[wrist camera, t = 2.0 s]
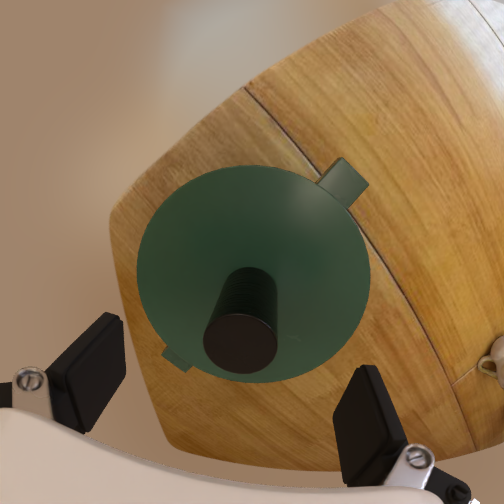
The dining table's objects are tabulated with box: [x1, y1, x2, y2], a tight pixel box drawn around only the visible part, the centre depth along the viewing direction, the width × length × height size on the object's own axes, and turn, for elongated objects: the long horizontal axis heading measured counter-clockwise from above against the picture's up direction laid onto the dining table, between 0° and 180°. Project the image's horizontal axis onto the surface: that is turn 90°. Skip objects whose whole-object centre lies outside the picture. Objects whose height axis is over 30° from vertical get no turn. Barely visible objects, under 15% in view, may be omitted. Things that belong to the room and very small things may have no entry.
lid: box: [137, 165, 370, 383], centre depth 15 cm, size 15×15×7 cm
